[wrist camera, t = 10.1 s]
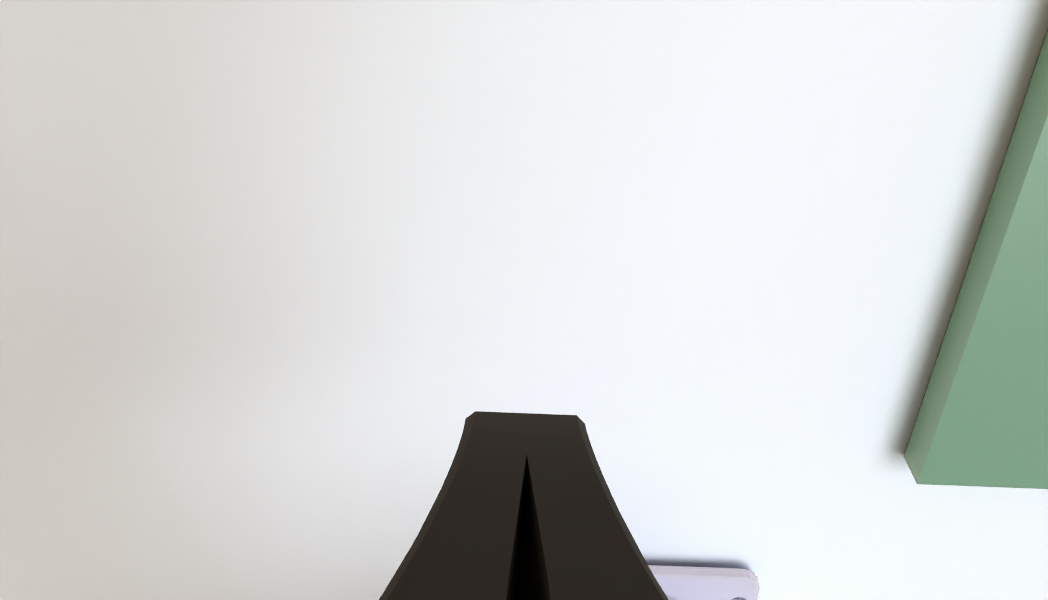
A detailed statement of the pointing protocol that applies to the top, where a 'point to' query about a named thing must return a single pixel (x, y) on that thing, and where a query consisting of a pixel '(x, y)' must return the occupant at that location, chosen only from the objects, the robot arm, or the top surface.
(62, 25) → the top surface
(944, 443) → the board
